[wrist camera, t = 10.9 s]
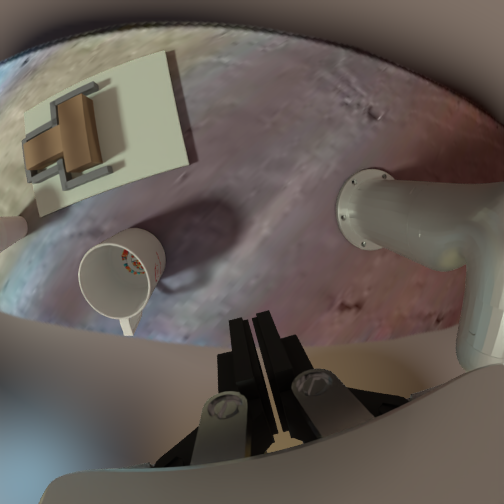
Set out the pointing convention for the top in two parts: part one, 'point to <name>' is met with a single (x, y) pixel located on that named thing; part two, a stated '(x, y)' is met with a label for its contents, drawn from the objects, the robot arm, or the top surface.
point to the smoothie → (11, 230)
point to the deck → (113, 132)
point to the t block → (67, 139)
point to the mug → (122, 275)
